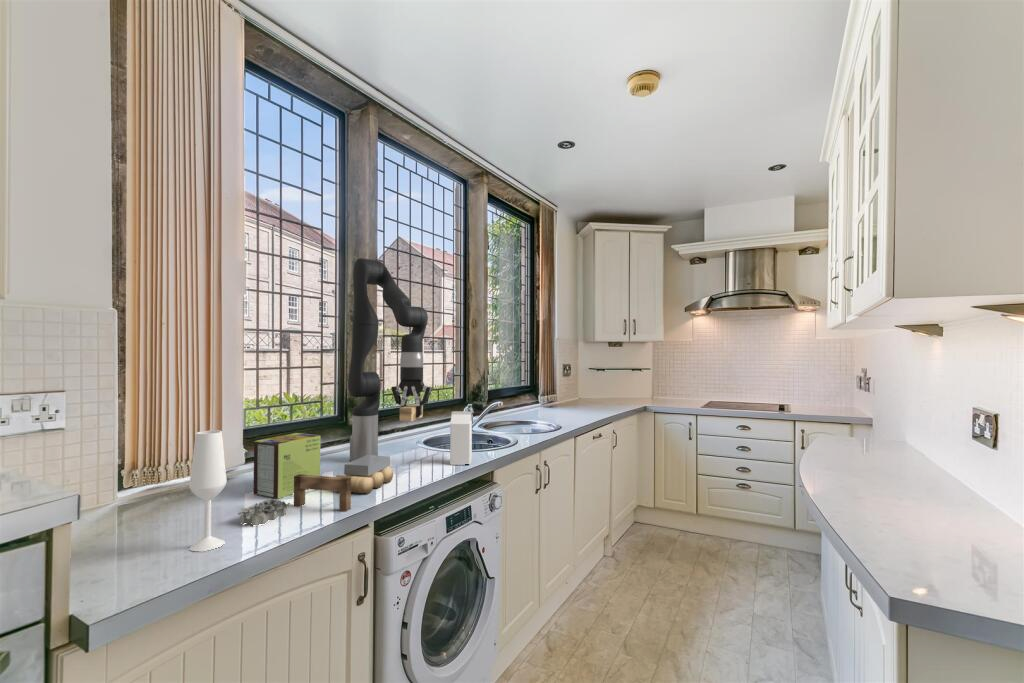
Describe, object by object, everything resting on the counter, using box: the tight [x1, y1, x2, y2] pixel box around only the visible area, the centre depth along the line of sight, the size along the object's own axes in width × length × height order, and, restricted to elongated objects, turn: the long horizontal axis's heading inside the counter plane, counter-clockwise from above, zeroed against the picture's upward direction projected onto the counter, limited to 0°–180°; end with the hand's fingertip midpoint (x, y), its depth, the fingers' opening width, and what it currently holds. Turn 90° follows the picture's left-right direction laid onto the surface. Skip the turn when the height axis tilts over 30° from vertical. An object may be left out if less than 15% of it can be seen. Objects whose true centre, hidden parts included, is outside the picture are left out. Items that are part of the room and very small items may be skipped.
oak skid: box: [399, 403, 424, 422], centre depth 161 cm, size 11×4×4 cm, turn 170°
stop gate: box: [293, 474, 352, 512], centre depth 127 cm, size 16×2×8 cm, turn 76°
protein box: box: [252, 432, 321, 500], centre depth 143 cm, size 10×15×16 cm
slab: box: [343, 455, 391, 476], centre depth 148 cm, size 8×13×3 cm, turn 166°
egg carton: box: [236, 497, 291, 526], centre depth 118 cm, size 11×8×4 cm
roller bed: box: [335, 467, 394, 494], centre depth 146 cm, size 11×16×4 cm, turn 166°
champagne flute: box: [188, 429, 227, 552], centre depth 102 cm, size 7×7×24 cm
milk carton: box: [449, 410, 473, 466], centre depth 177 cm, size 7×7×19 cm
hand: (411, 416), depth 161 cm, fingers closed on oak skid, 4 cm apart
